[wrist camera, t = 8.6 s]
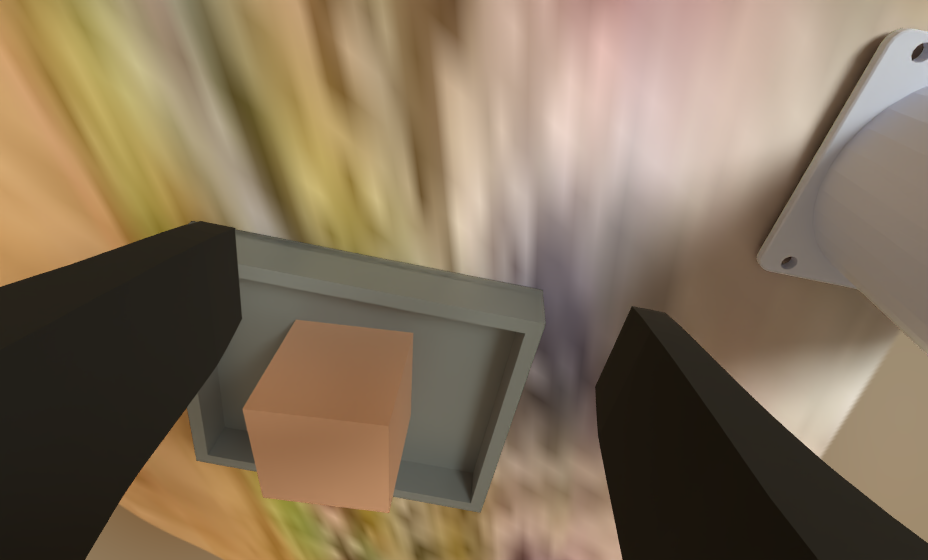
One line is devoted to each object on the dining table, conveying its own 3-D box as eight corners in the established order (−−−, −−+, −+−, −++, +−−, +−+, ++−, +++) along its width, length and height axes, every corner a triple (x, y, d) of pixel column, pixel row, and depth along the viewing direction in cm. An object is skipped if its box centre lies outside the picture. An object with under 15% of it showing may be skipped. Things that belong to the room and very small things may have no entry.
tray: (542, 290, 20) (545, 323, 18) (482, 474, 26) (480, 512, 25) (191, 220, 20) (158, 248, 18) (218, 425, 26) (196, 460, 24)
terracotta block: (413, 332, 21) (388, 426, 17) (411, 414, 24) (389, 512, 20) (296, 319, 21) (242, 408, 17) (306, 402, 24) (263, 497, 20)
